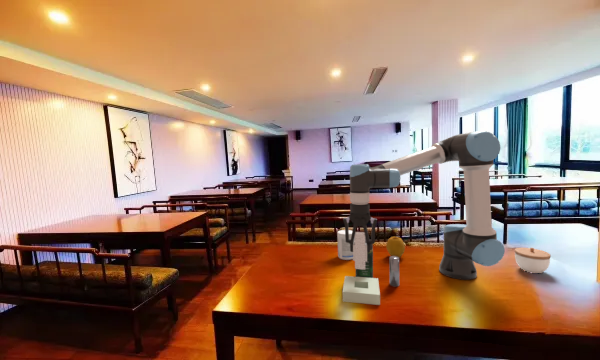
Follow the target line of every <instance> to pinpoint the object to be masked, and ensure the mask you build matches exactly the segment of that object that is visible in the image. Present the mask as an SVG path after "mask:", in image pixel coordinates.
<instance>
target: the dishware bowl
mask: <svg viewBox="0 0 600 360" xmlns="http://www.w3.org/2000/svg"><path fill="white" fill-rule="evenodd" d="M514 259H515V262H516V264H517V265H518V267H519V268H520V269H521V270H522V269H523V270H525V271H527V272H526V273H528V272H532V273H541V274H543V272H546V271H547V270H548V269H549V266H550V263H551V253H549V252H547V251H546V250H545V251H544V250H542V249H537V248H534V247H515V249H514ZM523 270H522V271H523ZM525 271H524V272H525ZM532 273H531V274H532Z"/></svg>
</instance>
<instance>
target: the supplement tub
mask: <svg viewBox="0 0 600 360" xmlns="http://www.w3.org/2000/svg"><path fill="white" fill-rule="evenodd" d="M352 231H353V230H352V229H349V239H350V240H351V236H352ZM336 235H337V237H336V238H337V256H338V258H339V259H340V260H344V261H345V260H346V261H349V260H353V252H351V251H350V243H346V238H345V229H341V230H338V231H337V233H336ZM353 243H355V237H354V242H353Z"/></svg>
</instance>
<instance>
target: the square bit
mask: <svg viewBox="0 0 600 360" xmlns="http://www.w3.org/2000/svg"><path fill="white" fill-rule="evenodd" d="M365 238H366V237H365V233H364V231H356V232H355V261H354V269H355V270H356V269H364V270H365Z"/></svg>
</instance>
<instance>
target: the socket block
mask: <svg viewBox="0 0 600 360" xmlns="http://www.w3.org/2000/svg"><path fill="white" fill-rule="evenodd" d="M379 283H380V282H379V278H378V277H377V278H376V277H373V278H366V277H356V276H352V275H351V276H350V275H345V276H344V281H343V286H342V302H343V303H346V302H347V303H357V304H366V305H374V306H375V305H376V306H380V305H381V292H380V291H381V290H380V284H379Z"/></svg>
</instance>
